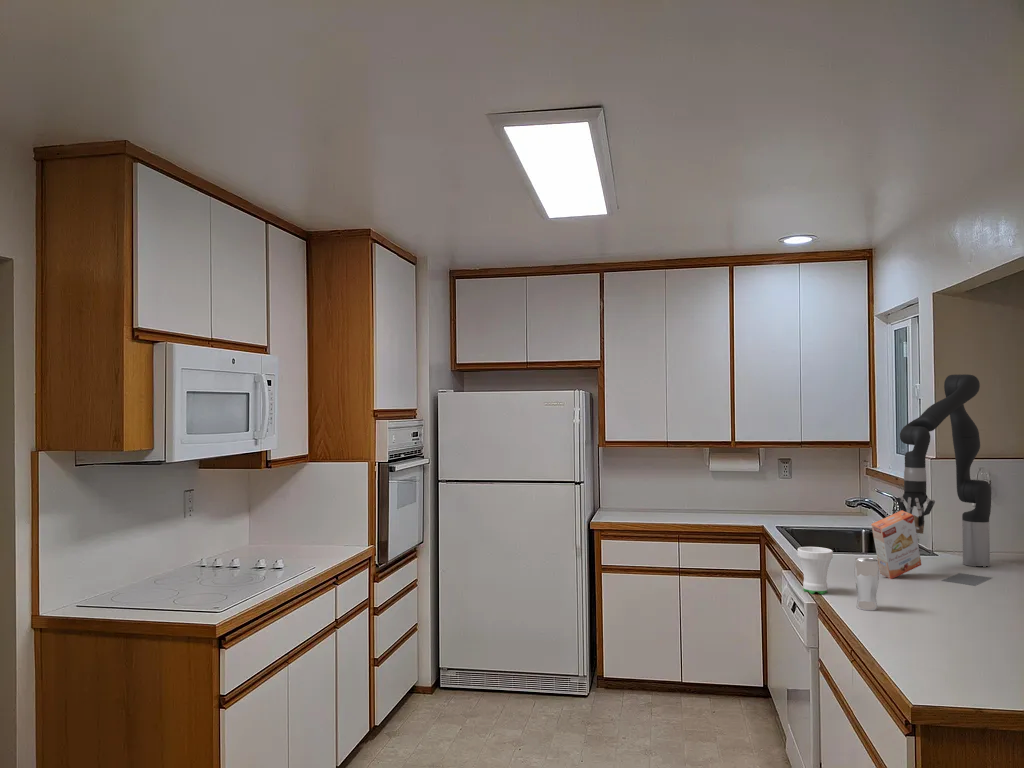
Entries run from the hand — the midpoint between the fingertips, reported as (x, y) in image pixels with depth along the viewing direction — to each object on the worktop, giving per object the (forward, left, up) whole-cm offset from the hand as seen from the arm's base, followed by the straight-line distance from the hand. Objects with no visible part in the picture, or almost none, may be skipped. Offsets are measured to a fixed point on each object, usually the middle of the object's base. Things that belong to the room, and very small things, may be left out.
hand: (915, 525), depth 304 cm
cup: (+58, -11, -18) cm, 62 cm away
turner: (+5, 0, -1) cm, 5 cm away
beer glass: (+67, +10, -18) cm, 70 cm away
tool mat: (+2, +18, -18) cm, 25 cm away
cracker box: (+14, 0, -15) cm, 20 cm away
